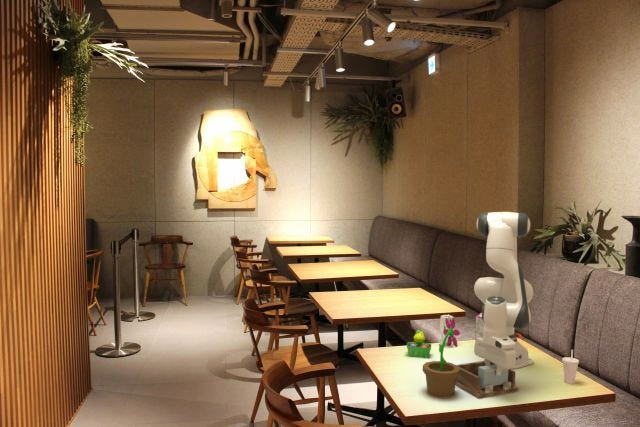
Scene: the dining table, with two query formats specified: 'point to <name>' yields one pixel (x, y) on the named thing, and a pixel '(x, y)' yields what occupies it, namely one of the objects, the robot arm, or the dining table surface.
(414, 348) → the fruit basket
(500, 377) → the grey box with stripe
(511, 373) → the wooden box
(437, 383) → the flowerpot
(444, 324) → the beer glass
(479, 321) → the candy bar box
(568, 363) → the smoothie
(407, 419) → the dining table surface
